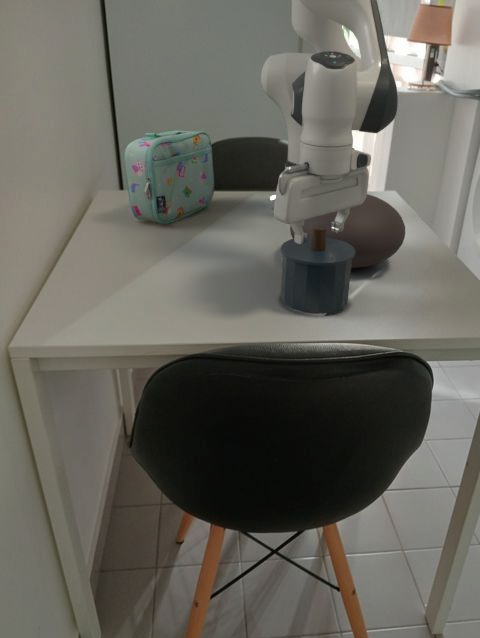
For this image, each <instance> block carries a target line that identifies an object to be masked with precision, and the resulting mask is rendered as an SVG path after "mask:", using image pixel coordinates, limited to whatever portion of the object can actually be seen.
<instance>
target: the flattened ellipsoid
mask: <svg viewBox="0 0 480 638" xmlns="http://www.w3.org/2000/svg"><path fill="white" fill-rule="evenodd" d="M337 213H338V212H337V211H336V212H332V213H329V214H325V215H321V216H318V217H314V218H310V219H307V220H304V226H302V229H303V232H305V233H307V237H308V236H312V228H313V226H318V225H320V226H325V227H327V234H326V237H328V238H334V239H338V240H341V241H344V242H346V243H348V244H350V245H352V246H353V247H354V249H355V252H356V253H355V257H354V258H353V259H352V265H351V269H360V268H366V267H371V266H375V265H378V264H380V263H383V262H384V261H387V260H388V259H389V258H391V257H392V256H393V255H395V254H396V253H397V252H398V251H399V250H400V248H401V247H402V245H403V243H404V241H405V237H406V225H405V222H404V219H403V217H402V216H401V214H400V213H399V212H398V210H396V208H395V207H393V206H392V205H391V204H390V203H389V202H387V201H385V200H383V199H381V198H379V197H377V196H375V195H371V194H368V193H367V196H366V199H365V201H364V202H363V204H362V205H358V206H355V207H351V208H350V213H349V215H348V217H347V219H346V221H345V223H344V228H343V231H342V232H339V233H335V232H332V230H331V227H332V226H331V224H332V222H333V221H335V219H336V216H337ZM289 225H290V224H289ZM289 230H290V237H291V239H294V236H295V233H294V231H293V229H292V227H291V225H290V226H289Z"/></svg>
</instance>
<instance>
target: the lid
mask: <svg viewBox="0 0 480 638" xmlns="http://www.w3.org/2000/svg"><path fill="white" fill-rule="evenodd" d="M326 234H327V227H325V226H320V225H318V226H313V228H312V236H308V237H307V242H306V243H303V244H298V243H296V242H295V241H294V239H293V238H291V239H288V240H286V241H284V242H283V243H282V244H281V246H280V253H281V255H282V256H283V255H284V256H285V257H286V258H288V259H290V260H292V261H295V262H298V263H302V264H307V265H315V266H332V265H339V264H343V263H346V262H349V261H351V260H352V259H353V258H354V257H355V253H356V252H355V249H354V247H353V246H352V245H350V244H348V243H346V242H344V241H341V240H338V239H334V238H328V237H326Z"/></svg>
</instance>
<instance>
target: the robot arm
mask: <svg viewBox="0 0 480 638" xmlns="http://www.w3.org/2000/svg"><path fill="white" fill-rule="evenodd" d="M291 26H292V29H293V30H294V32H295V33H296V34H297V36H298V37H299V38H301V39H303V40H304V41H305V42H308V43H309V44H310V45H311V46H312V47H313V48H314V50H315V53H314V52H313V53H312V52H311V53H310V52H290V51H289V52H283V53H277V54H271V55H270V56H268V58H267V59H266V60H265V62H264V64H263V66H262V68H261V72H260V83H261V87H262V90H263V91H264V94H265V95H266V96H267V97H268V98H269V99H270V100H271V101H272V102H273V103H274V104H275V105H276V106H277V108H278V109H279V111H280V112H281V114H282V116H283V118H284V122H285V125H286V132H287V158H286V159H285V164H284V170H282V172H280V174H279V176H278V182H277V186H276V191H275V194H273V195H271V196H270V201H273V200H274V204H273V216H274V218H275V220H277V221H279V222H281V223H283V224H286V225H291V227H292V229H293V231H294V233H295V236H294V241H295V242H296V243H298V244H303V243H306V242H307V233H305V232H303V229H302V226H304V220H307V219H310V218H314V217H318V216H321V215H325V214H329V213H332V212H336V211H337V212H338V213H337V216H336V219H335V221H333V222H332V224H331V226H332V227H331V230H332V232H335V233H339V232H342V231H343V228H344V223H345V221H346V219H347V217H348V215H349V213H350V208H351V207H355V206H358V205H362V204H363V202H364V201H365V199H366V196H367V194H368V189H369V181H370V180H369V179H370V171H369V169H368V167H369V166H370V165H371V161H372V155H371V154H370V153H367V152H364V151H361V150H358V149H355V148H354V147H353V145H354V136H353V131H358V132H360V133H369V134H378V133H380V132H382V131H383V130H385V129H386V128H387V127H388V126H389V125H390V124H391V123H392V122H393V121H394V120H395V119H396V117H397V113H398V107H399V106H398V105H399V94H398V93H399V92H398V87H397V83H396V79H395V77H394V73H393V71H392V68H391V63H390V59H389V53H388V49H387V43H386V38H385V33H384V28H383V22H382V17H381V14H380V9H379V4H378V1H377V0H291ZM343 27H344V28H346V29H348V30H349V31H350V32H352V34H353V35H354V36H355V38H356V40H357V44H358V49H359V50H358V51H359V56H360V57H359V56H357V55H356V53H355V52H354V51H353V50H352V48H351V46H350V45H349V44H348V41H347V39H346V37H345V34H344V30H343Z"/></svg>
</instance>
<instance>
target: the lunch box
mask: <svg viewBox="0 0 480 638" xmlns="http://www.w3.org/2000/svg"><path fill="white" fill-rule="evenodd" d="M212 145H213V144H212V139H211V137H210V136H209V134H208V133H207V132H206V131H203V130H199V131H189V130H178V129H177V130H171V131H170V130H169V131H163V132H160V133H156V132H145V136H142V137H140V138H137V139H135V140H133V141H131V142H130V143H128V145H127V146H126V148H125V150H124V154H123V159H124V160H123V162H124V170H125V171H124V172H125V178H126V180H125V181H126V186H127V195H128V200H129V205H130V209H131V213H132V215H133V216H134V218H135V219H137V220H138V221H139V220H140V221H145V222H152V223H153V222H154V223H158V224H160V225H167V224H173V223H175V222H177V221H180V220H181V219H183V218H186V217H188V216H190V215H192V214H194V213H196V212H198V211H200V210H202V209H204V208H206V207H207V206H209V205H210V203H211V202H212V200H213V197H214V194H215V176H214V175H215V174H214V161H213V146H212Z"/></svg>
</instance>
